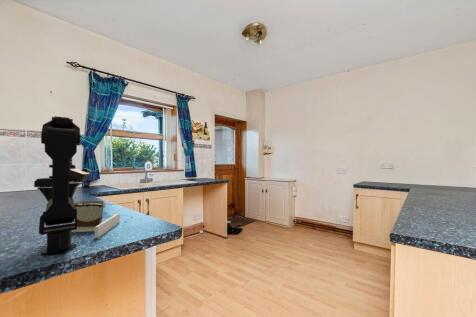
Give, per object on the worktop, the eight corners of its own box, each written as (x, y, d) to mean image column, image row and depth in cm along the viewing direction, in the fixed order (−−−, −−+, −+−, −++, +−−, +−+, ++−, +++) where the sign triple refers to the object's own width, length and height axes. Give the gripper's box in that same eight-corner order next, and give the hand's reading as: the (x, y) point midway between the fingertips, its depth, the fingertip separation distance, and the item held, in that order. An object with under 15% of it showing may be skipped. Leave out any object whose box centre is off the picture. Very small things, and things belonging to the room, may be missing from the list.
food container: (110, 222, 95) (110, 200, 95) (103, 226, 89) (103, 202, 89) (80, 223, 93) (80, 200, 93) (71, 227, 87) (71, 203, 87)
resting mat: (100, 230, 85) (100, 230, 85) (58, 232, 82) (58, 231, 82) (113, 222, 96) (113, 221, 96) (77, 223, 94) (77, 222, 94)
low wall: (98, 237, 77) (98, 226, 77) (94, 238, 77) (94, 227, 77) (119, 222, 97) (119, 213, 97) (116, 222, 97) (116, 213, 97)
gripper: (71, 162, 71) (69, 208, 71) (98, 162, 90) (97, 198, 89) (33, 162, 69) (32, 209, 69) (69, 161, 88) (68, 199, 88)
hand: (61, 203), depth 79 cm, fingers open, 9 cm apart
